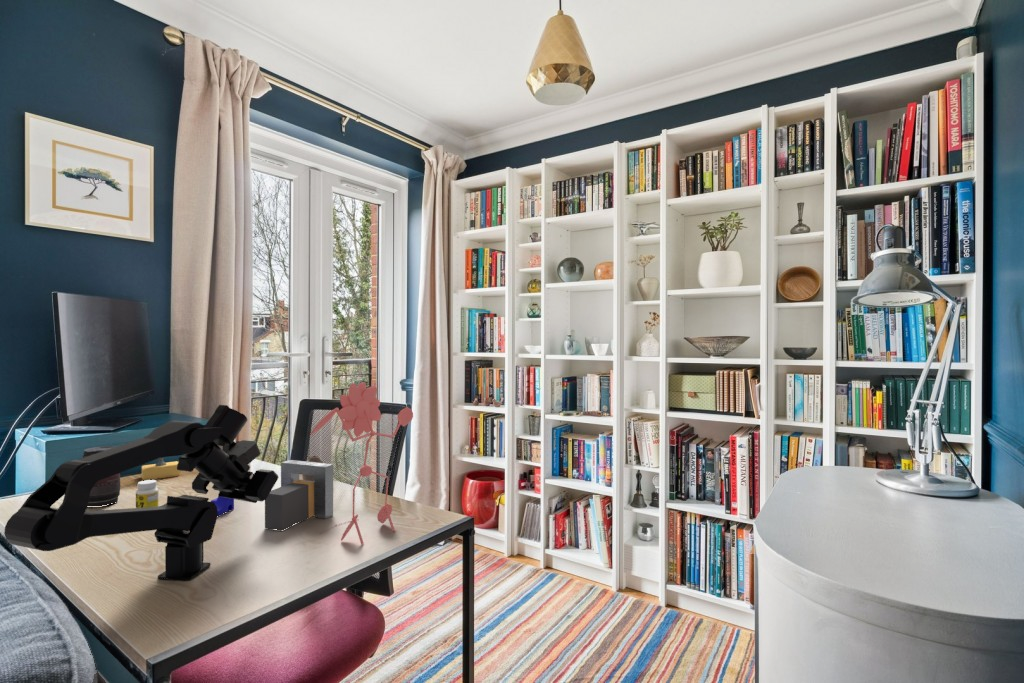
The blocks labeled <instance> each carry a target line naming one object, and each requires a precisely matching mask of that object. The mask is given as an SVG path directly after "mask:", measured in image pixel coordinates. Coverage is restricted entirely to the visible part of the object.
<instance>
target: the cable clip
mask: <svg viewBox="0 0 1024 683" xmlns="http://www.w3.org/2000/svg"><path fill="white" fill-rule="evenodd" d="M219 492H220V491H218V493H219ZM210 502H214V503H215V504H216V507H217V510H218V517H220V516H219V515H221V514H223V513H225V512H227V513H229V512H230V511H229V510H231V511H233V510H235V499H230V498H225V497H219V496H218V495H217V497H216V498H214V499H212V500H210ZM232 509H233V510H232ZM228 511H229V512H228ZM225 514H226V513H225ZM223 515H224V514H223ZM221 516H222V515H221Z"/></svg>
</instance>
